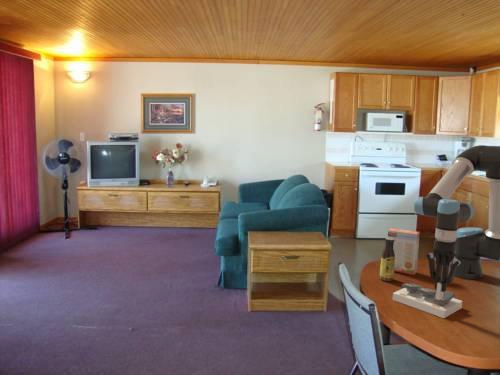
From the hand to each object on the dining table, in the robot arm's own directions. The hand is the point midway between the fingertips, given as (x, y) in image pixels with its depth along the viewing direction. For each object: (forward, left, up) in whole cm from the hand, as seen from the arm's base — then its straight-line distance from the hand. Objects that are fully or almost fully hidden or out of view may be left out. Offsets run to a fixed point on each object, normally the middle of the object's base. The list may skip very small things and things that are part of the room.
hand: (439, 298), depth 171 cm
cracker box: (-32, -35, -6) cm, 48 cm away
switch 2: (-4, 0, -1) cm, 4 cm away
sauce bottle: (-16, -33, -6) cm, 37 cm away
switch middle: (-4, -7, -1) cm, 8 cm away
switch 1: (-4, -14, -1) cm, 15 cm away
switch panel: (-4, -7, -6) cm, 10 cm away
